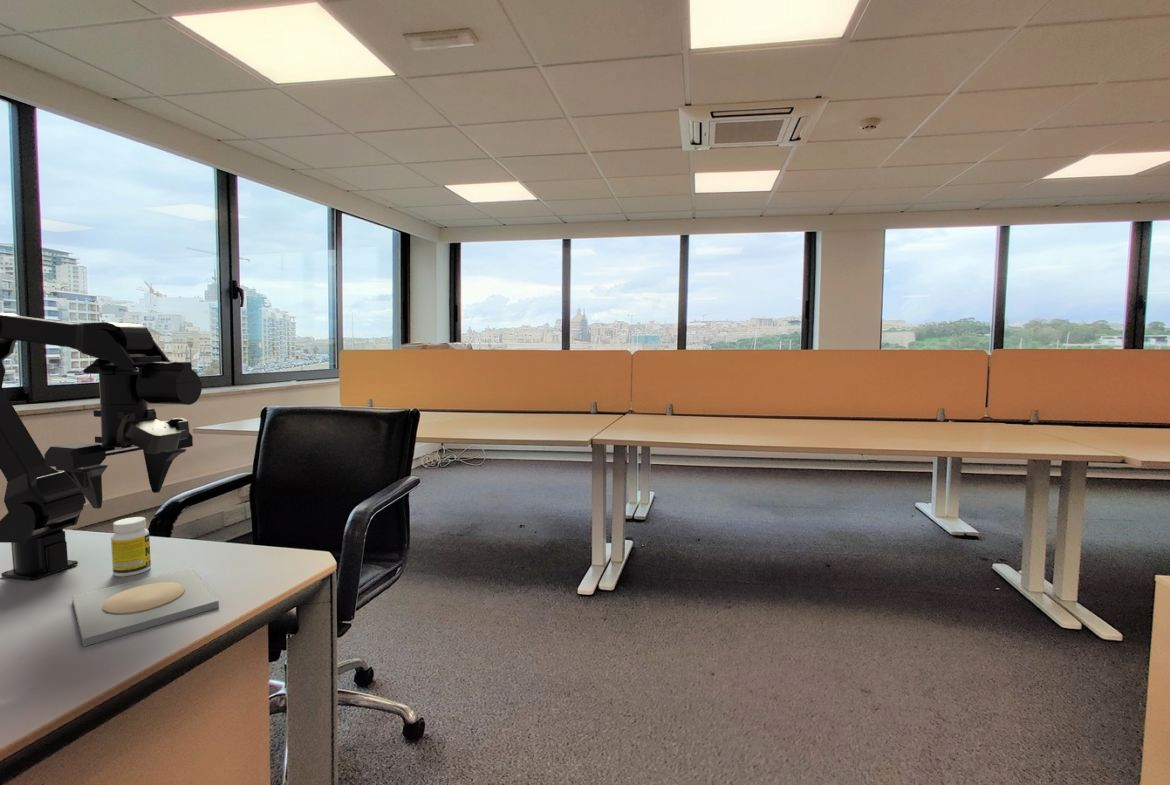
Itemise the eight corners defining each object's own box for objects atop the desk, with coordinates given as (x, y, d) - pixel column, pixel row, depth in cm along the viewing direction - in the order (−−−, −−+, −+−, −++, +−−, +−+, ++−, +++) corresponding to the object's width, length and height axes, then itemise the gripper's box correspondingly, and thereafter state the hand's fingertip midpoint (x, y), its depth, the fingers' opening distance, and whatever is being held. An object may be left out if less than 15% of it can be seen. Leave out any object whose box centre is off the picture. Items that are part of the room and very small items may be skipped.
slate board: (72, 602, 76) (72, 593, 76) (192, 573, 86) (192, 565, 86) (83, 646, 65) (82, 636, 65) (218, 607, 76) (218, 598, 75)
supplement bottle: (153, 571, 87) (150, 520, 86) (115, 580, 84) (112, 527, 83) (148, 562, 90) (145, 514, 90) (111, 571, 87) (108, 520, 86)
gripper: (103, 412, 74) (108, 523, 75) (218, 400, 92) (221, 489, 93) (38, 408, 76) (44, 515, 77) (164, 397, 94) (167, 484, 95)
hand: (128, 499), depth 86 cm, fingers open, 9 cm apart
